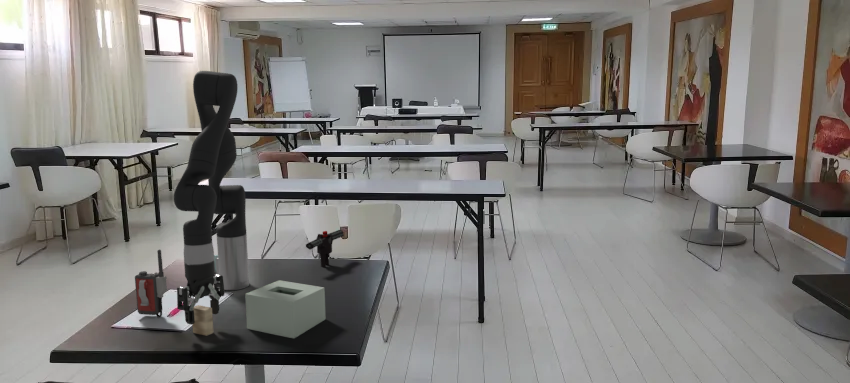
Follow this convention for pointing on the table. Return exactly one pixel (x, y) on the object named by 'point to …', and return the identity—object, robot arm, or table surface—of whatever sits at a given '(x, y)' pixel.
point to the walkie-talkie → (150, 290)
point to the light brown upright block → (203, 320)
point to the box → (285, 308)
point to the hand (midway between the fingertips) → (202, 318)
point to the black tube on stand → (324, 245)
